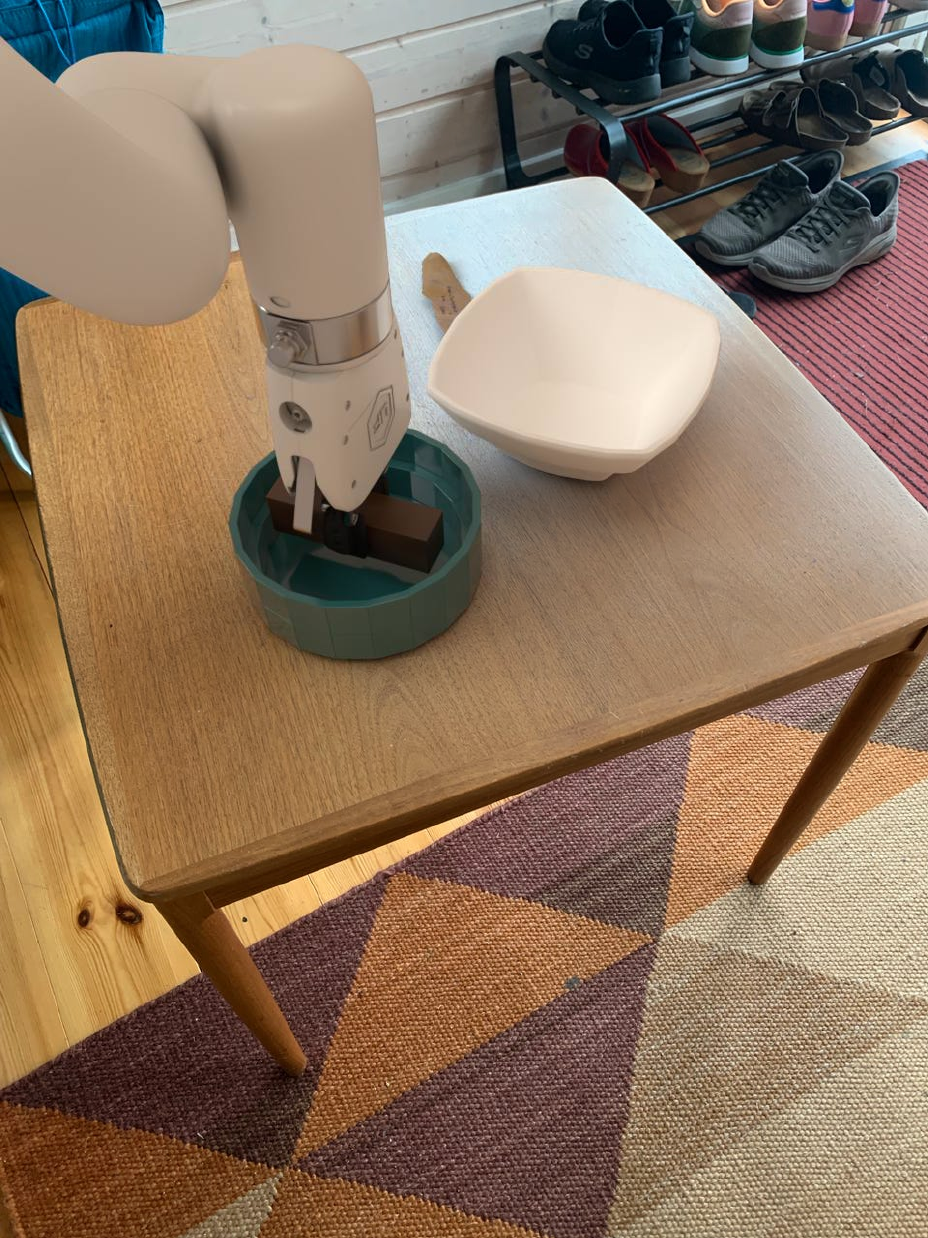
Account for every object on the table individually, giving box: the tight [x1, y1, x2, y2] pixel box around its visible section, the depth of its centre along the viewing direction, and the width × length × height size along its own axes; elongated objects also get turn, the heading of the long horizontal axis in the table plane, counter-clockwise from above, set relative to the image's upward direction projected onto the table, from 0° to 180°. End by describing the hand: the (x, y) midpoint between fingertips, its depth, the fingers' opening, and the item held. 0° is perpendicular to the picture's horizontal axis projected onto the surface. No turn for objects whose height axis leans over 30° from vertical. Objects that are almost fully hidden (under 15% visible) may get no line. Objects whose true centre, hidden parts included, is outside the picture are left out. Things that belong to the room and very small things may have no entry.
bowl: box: [426, 265, 723, 482], centre depth 73 cm, size 21×21×9 cm
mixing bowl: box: [228, 427, 482, 660], centre depth 66 cm, size 17×17×6 cm
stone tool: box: [421, 251, 472, 335], centre depth 87 cm, size 5×2×15 cm
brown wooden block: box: [266, 475, 444, 574], centre depth 64 cm, size 12×3×4 cm, turn 69°
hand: (358, 530), depth 65 cm, fingers closed on brown wooden block, 3 cm apart
